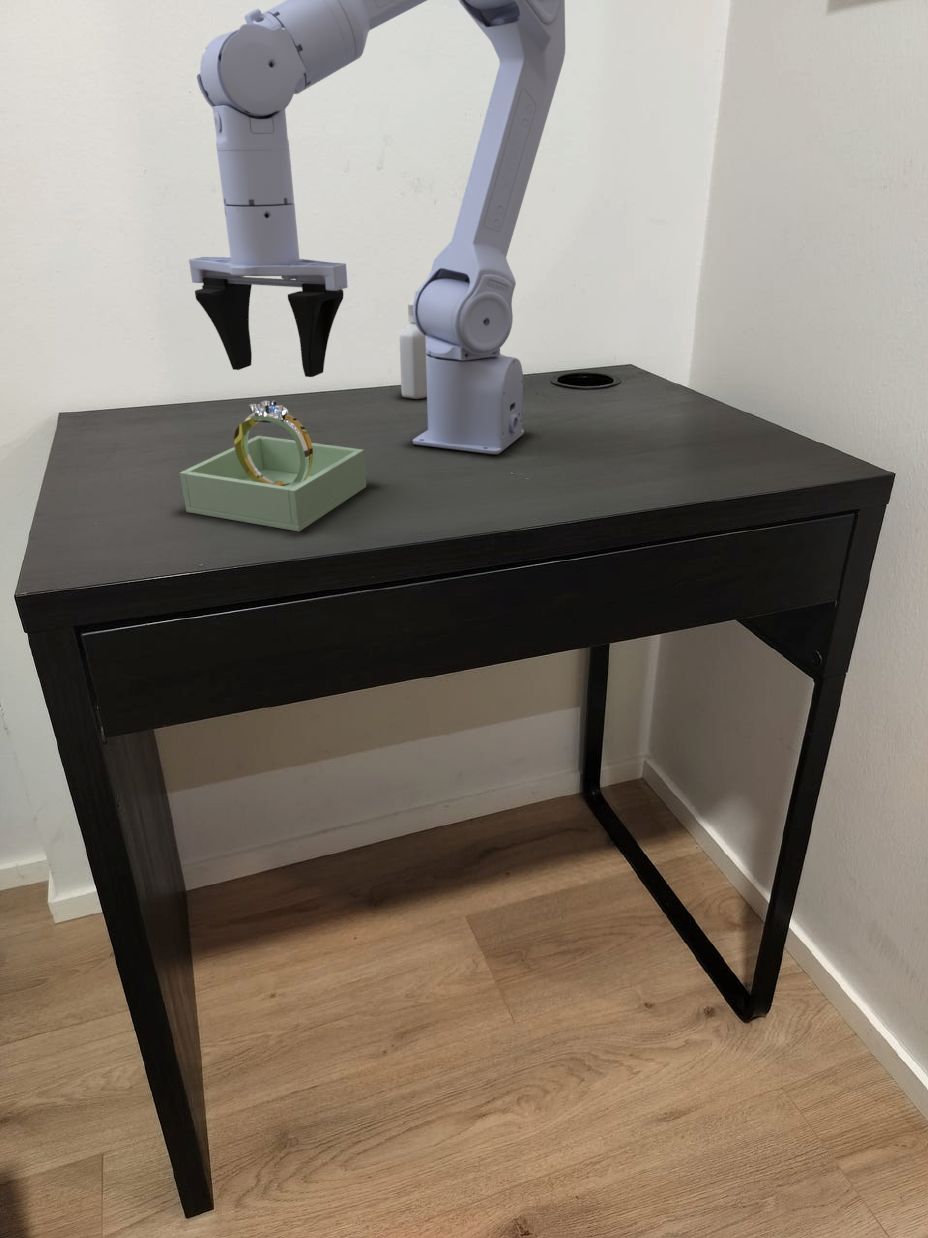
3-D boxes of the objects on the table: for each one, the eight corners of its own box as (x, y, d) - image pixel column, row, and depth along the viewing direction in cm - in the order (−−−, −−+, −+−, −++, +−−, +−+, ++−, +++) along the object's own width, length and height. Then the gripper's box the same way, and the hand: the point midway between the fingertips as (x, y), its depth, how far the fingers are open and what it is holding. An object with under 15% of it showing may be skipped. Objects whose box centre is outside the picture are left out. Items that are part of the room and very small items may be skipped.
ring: (234, 493, 77) (222, 402, 73) (257, 482, 79) (246, 393, 76) (300, 506, 74) (291, 411, 70) (322, 493, 77) (314, 402, 73)
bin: (366, 486, 80) (364, 449, 78) (299, 532, 71) (294, 490, 69) (262, 471, 84) (258, 435, 82) (186, 512, 74) (179, 472, 73)
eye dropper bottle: (392, 393, 109) (388, 290, 103) (433, 387, 111) (430, 286, 105) (408, 401, 105) (404, 295, 100) (449, 395, 108) (448, 291, 102)
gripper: (156, 205, 72) (183, 373, 78) (309, 209, 67) (325, 388, 73) (209, 200, 78) (230, 357, 84) (354, 203, 73) (365, 369, 79)
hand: (277, 370), depth 79 cm, fingers open, 7 cm apart
